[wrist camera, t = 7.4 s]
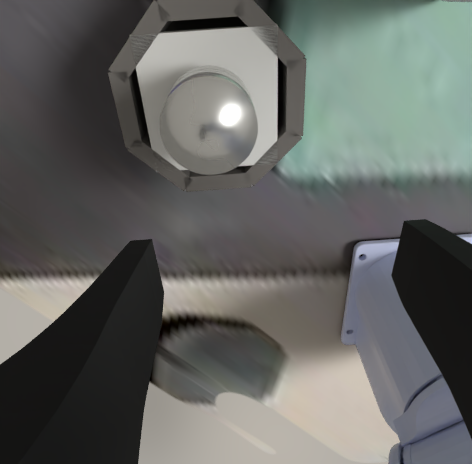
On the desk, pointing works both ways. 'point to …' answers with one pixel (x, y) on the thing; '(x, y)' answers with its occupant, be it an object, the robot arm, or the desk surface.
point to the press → (209, 54)
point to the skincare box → (458, 0)
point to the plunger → (209, 121)
